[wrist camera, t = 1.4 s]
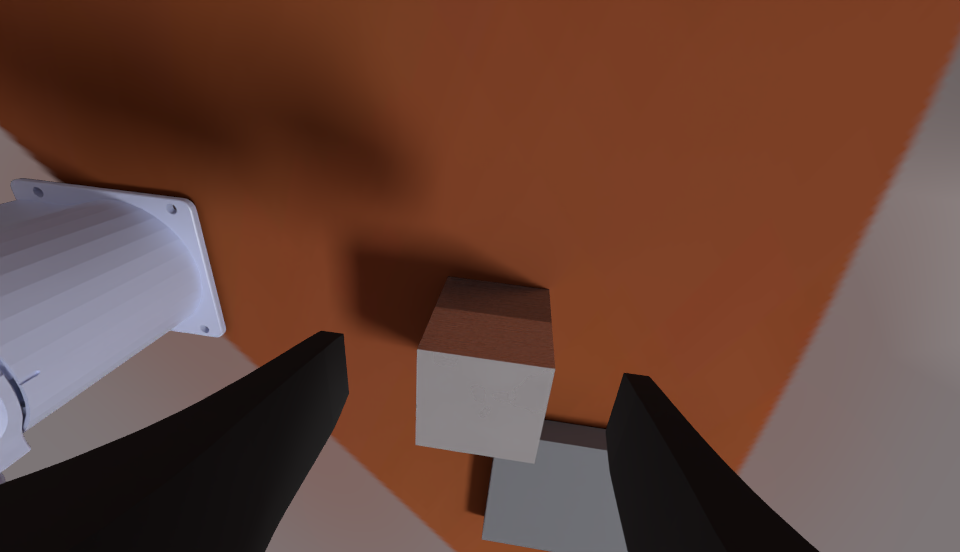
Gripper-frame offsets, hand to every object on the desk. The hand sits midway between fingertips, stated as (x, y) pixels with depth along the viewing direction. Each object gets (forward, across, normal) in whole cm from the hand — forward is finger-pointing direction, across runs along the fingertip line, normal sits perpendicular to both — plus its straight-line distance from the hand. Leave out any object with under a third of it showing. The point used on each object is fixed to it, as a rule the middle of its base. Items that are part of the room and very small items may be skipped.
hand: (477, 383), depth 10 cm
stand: (+9, -6, +16) cm, 19 cm away
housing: (+10, 0, +4) cm, 11 cm away
